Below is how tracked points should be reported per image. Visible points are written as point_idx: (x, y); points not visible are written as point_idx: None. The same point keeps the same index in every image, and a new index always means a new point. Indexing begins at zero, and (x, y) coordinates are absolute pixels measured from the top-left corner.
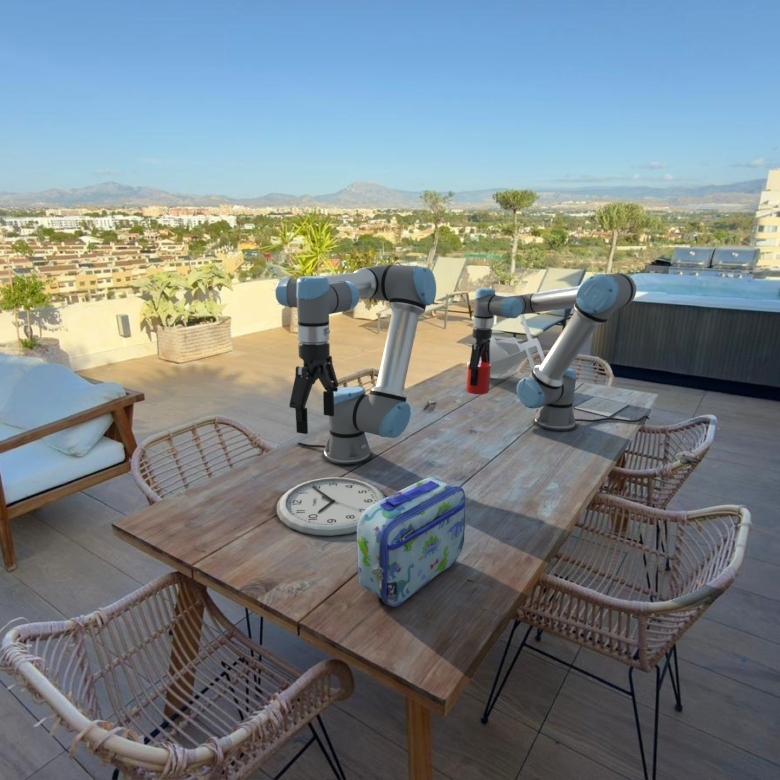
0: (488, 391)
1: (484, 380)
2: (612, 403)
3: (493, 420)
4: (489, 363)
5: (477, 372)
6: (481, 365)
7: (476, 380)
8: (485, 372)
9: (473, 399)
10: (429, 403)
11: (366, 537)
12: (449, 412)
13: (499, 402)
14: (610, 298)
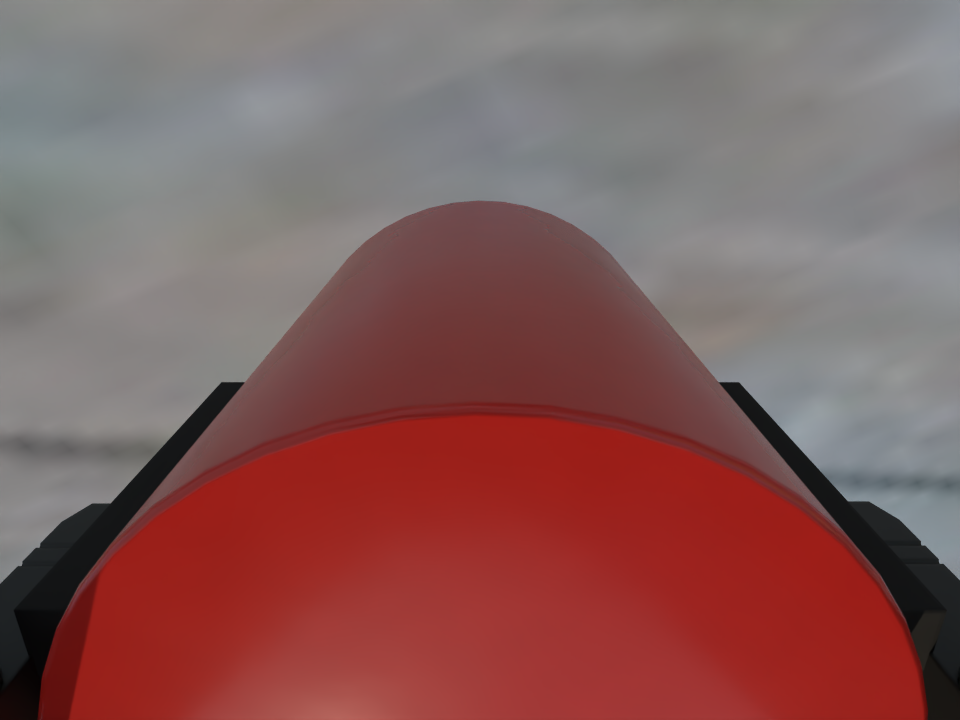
0: (452, 205)
1: (646, 307)
2: None
3: (648, 4)
4: (109, 565)
5: (898, 559)
6: (652, 693)
7: (783, 443)
8: (707, 382)
9: (141, 442)
10: None
11: None
12: None
13: (15, 178)
14: None
